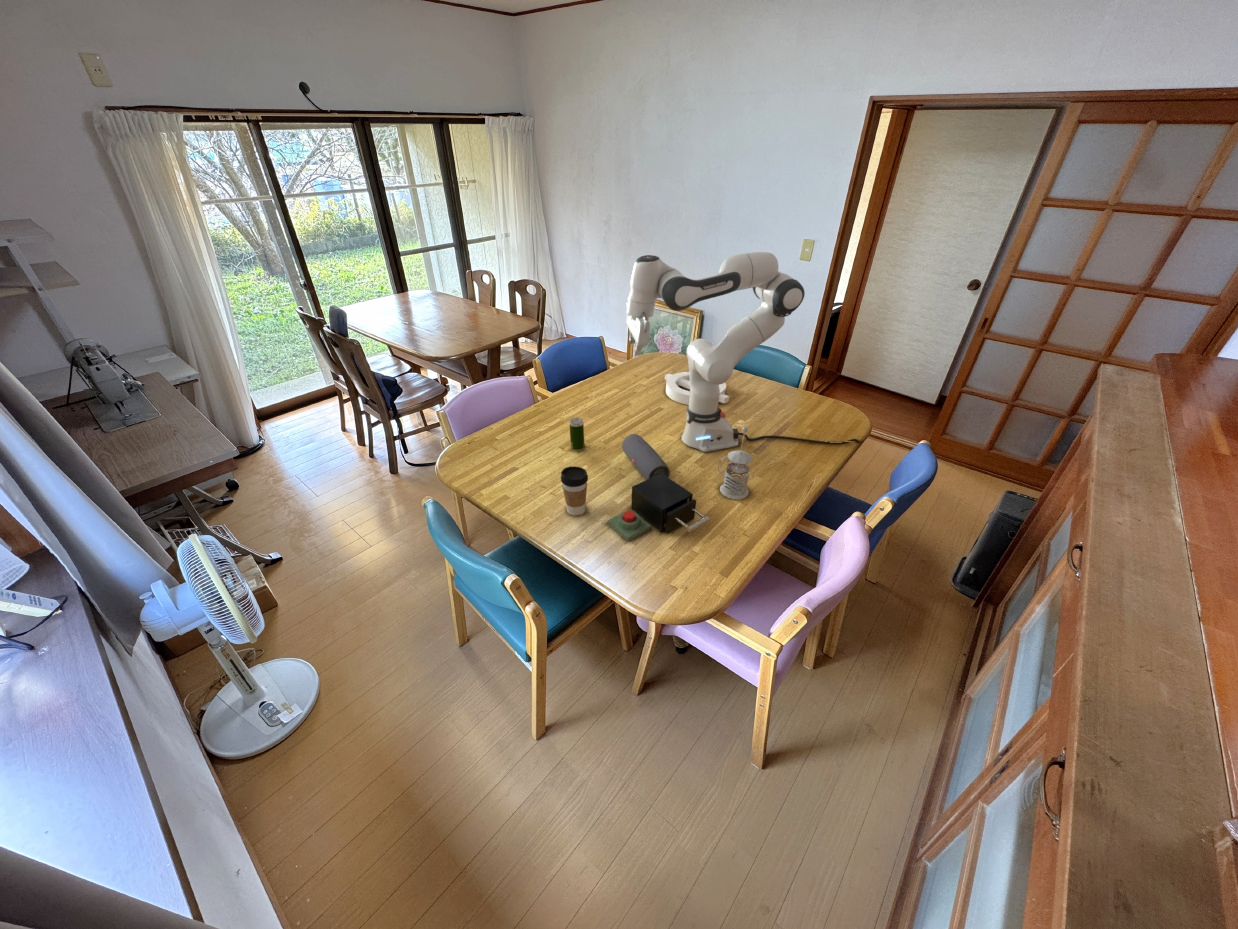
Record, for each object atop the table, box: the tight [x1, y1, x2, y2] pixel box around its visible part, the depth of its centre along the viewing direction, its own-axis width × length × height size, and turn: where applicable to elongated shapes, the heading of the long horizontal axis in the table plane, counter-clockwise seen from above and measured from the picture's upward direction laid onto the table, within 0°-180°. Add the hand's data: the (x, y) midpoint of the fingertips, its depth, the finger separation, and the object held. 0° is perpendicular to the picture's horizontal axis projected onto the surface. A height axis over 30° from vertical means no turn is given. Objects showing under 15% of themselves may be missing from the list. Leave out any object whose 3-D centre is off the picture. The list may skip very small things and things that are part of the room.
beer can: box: [568, 417, 585, 452], centre depth 185 cm, size 5×5×12 cm
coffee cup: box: [560, 466, 589, 516], centre depth 153 cm, size 8×8×15 cm
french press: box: [717, 426, 753, 500], centre depth 160 cm, size 10×12×25 cm
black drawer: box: [663, 498, 710, 534], centre depth 149 cm, size 21×11×7 cm, turn 38°
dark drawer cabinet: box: [630, 473, 694, 534], centre depth 153 cm, size 15×13×9 cm
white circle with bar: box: [664, 371, 730, 406], centre depth 229 cm, size 28×28×5 cm
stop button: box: [623, 510, 636, 522], centre depth 148 cm, size 4×4×2 cm
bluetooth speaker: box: [621, 433, 671, 480], centre depth 173 cm, size 23×9×10 cm, turn 23°
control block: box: [607, 508, 652, 542], centre depth 149 cm, size 10×9×4 cm
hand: (634, 348), depth 166 cm, fingers open, 8 cm apart
